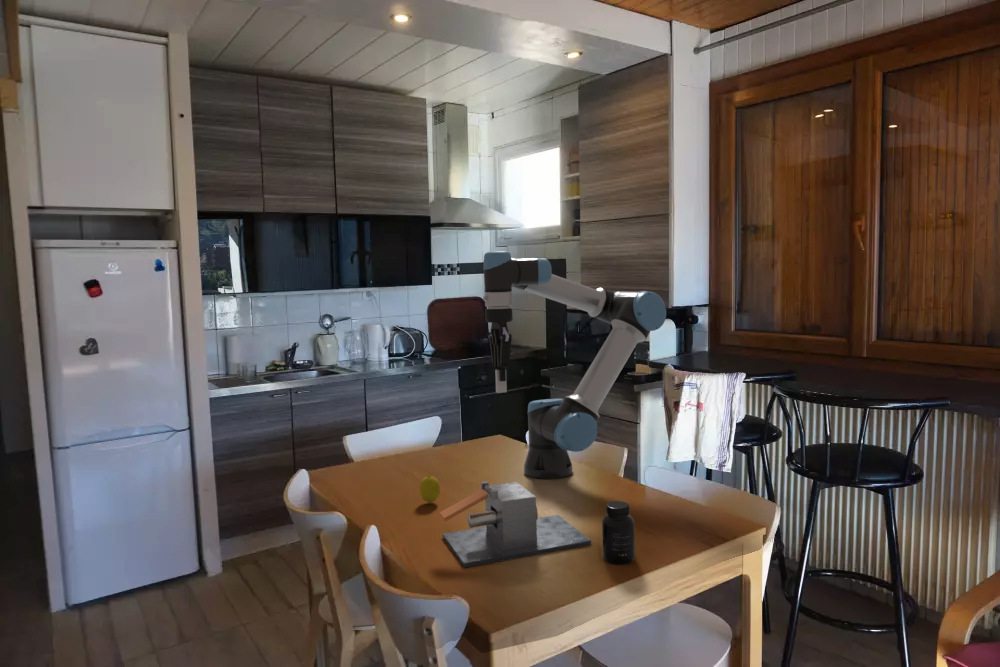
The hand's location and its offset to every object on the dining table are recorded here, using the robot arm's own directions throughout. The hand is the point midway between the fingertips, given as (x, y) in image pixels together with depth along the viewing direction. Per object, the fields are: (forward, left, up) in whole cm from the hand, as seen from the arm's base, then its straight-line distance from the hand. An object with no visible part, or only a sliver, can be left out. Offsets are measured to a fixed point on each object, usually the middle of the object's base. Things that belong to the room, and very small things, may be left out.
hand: (501, 392), depth 183 cm
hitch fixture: (+10, +32, -29) cm, 45 cm away
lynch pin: (+12, +32, -25) cm, 43 cm away
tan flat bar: (+20, +32, -19) cm, 42 cm away
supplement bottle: (-8, +50, -30) cm, 59 cm away
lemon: (+21, -2, -30) cm, 36 cm away
